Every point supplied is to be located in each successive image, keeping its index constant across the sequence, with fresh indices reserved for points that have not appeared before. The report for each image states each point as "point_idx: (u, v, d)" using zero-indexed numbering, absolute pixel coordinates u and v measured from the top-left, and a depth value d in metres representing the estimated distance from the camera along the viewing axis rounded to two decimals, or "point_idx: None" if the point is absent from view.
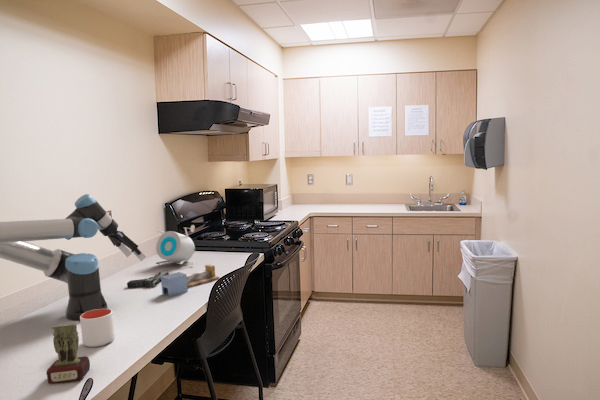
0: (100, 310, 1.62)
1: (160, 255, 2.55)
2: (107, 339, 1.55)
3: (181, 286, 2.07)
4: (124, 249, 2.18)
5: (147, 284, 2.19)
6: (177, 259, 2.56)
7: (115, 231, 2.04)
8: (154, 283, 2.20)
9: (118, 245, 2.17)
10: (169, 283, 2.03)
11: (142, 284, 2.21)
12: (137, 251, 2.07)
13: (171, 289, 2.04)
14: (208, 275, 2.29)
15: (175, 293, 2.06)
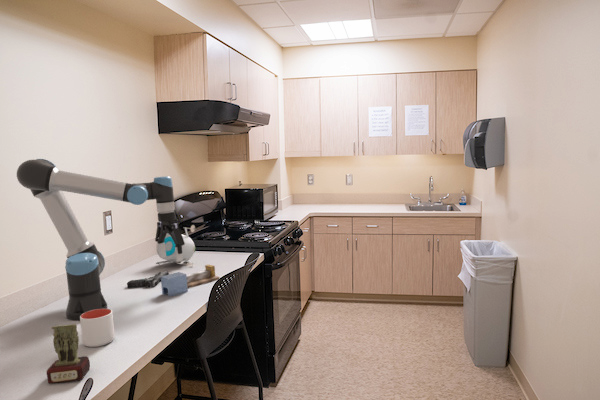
0: (100, 310, 1.62)
1: None
2: (107, 339, 1.55)
3: (181, 286, 2.07)
4: (162, 249, 2.12)
5: (147, 284, 2.19)
6: None
7: (171, 221, 2.03)
8: (154, 283, 2.20)
9: (160, 242, 2.11)
10: (169, 283, 2.03)
11: (142, 284, 2.21)
12: (180, 249, 2.01)
13: (171, 289, 2.04)
14: (208, 275, 2.29)
15: (175, 293, 2.06)
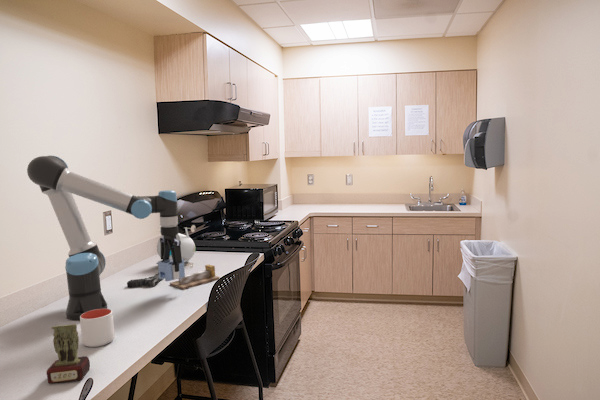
0: (100, 310, 1.62)
1: None
2: (107, 339, 1.55)
3: None
4: None
5: (147, 284, 2.20)
6: None
7: (174, 235, 2.03)
8: (154, 283, 2.21)
9: None
10: (166, 267, 2.02)
11: (142, 283, 2.22)
12: (177, 267, 2.04)
13: (168, 274, 2.03)
14: (208, 275, 2.29)
15: (172, 278, 2.05)
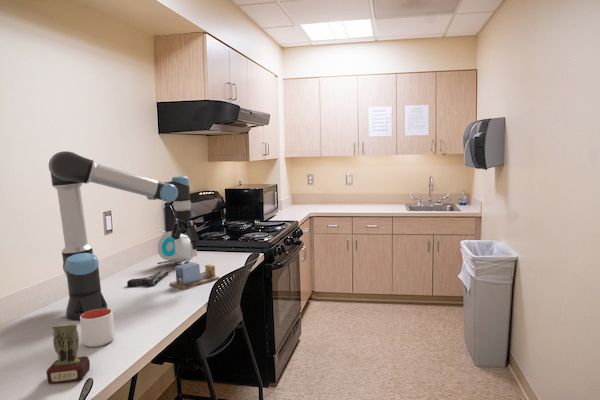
0: (100, 310, 1.62)
1: (161, 255, 2.54)
2: (107, 339, 1.55)
3: (194, 275, 2.20)
4: (178, 244, 2.24)
5: (147, 283, 2.21)
6: (178, 259, 2.55)
7: (187, 218, 2.16)
8: (154, 282, 2.22)
9: (175, 238, 2.24)
10: (183, 272, 2.16)
11: (142, 283, 2.23)
12: (194, 245, 2.14)
13: (185, 278, 2.17)
14: (208, 275, 2.29)
15: (189, 282, 2.18)
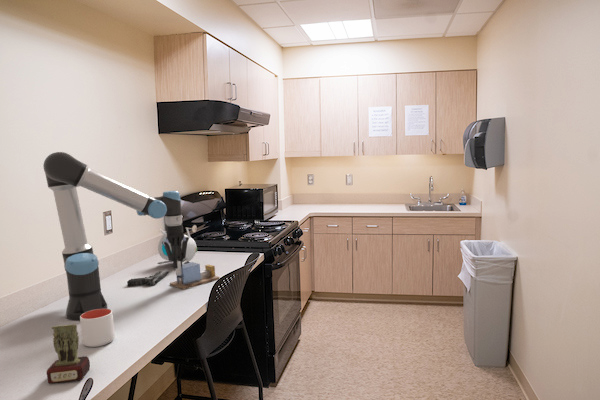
0: (100, 310, 1.62)
1: (162, 255, 2.54)
2: (107, 339, 1.55)
3: (194, 275, 2.20)
4: None
5: (147, 282, 2.22)
6: None
7: (167, 234, 2.13)
8: (154, 281, 2.22)
9: (178, 259, 2.18)
10: (184, 272, 2.16)
11: (142, 282, 2.24)
12: (174, 264, 2.16)
13: (186, 278, 2.17)
14: (208, 275, 2.29)
15: (189, 281, 2.19)
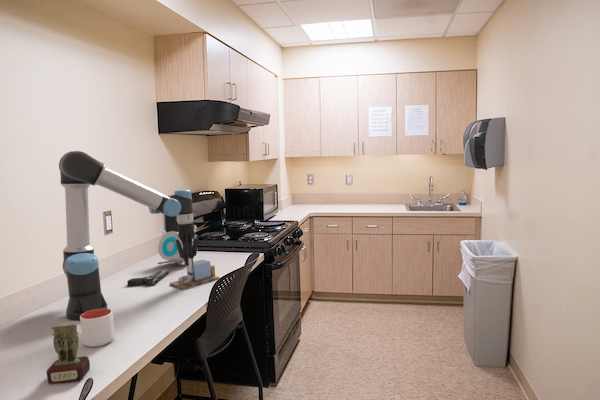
0: (100, 310, 1.62)
1: (162, 255, 2.54)
2: (107, 339, 1.55)
3: (205, 272, 2.25)
4: None
5: (147, 282, 2.22)
6: (179, 259, 2.55)
7: (179, 232, 2.17)
8: (154, 281, 2.23)
9: None
10: (195, 269, 2.21)
11: (142, 282, 2.24)
12: (185, 261, 2.20)
13: (197, 275, 2.21)
14: None
15: (200, 278, 2.23)
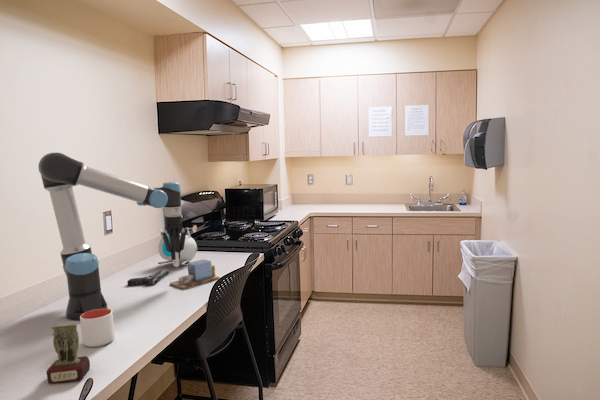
0: (100, 310, 1.62)
1: (162, 255, 2.54)
2: (107, 339, 1.55)
3: (206, 272, 2.25)
4: None
5: (147, 282, 2.22)
6: (179, 259, 2.55)
7: (166, 225, 2.13)
8: (154, 281, 2.23)
9: (176, 250, 2.18)
10: (196, 269, 2.21)
11: (142, 282, 2.24)
12: (171, 255, 2.16)
13: (197, 274, 2.22)
14: None
15: (201, 278, 2.23)
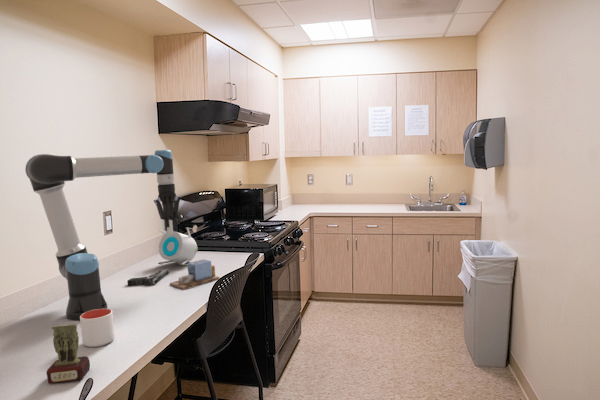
0: (100, 310, 1.62)
1: (162, 255, 2.54)
2: (107, 339, 1.55)
3: (206, 272, 2.25)
4: None
5: (147, 282, 2.23)
6: (179, 259, 2.55)
7: (159, 193, 2.15)
8: (154, 281, 2.23)
9: (169, 218, 2.20)
10: (196, 269, 2.21)
11: (142, 282, 2.25)
12: (165, 223, 2.18)
13: (197, 274, 2.22)
14: None
15: (201, 278, 2.23)
